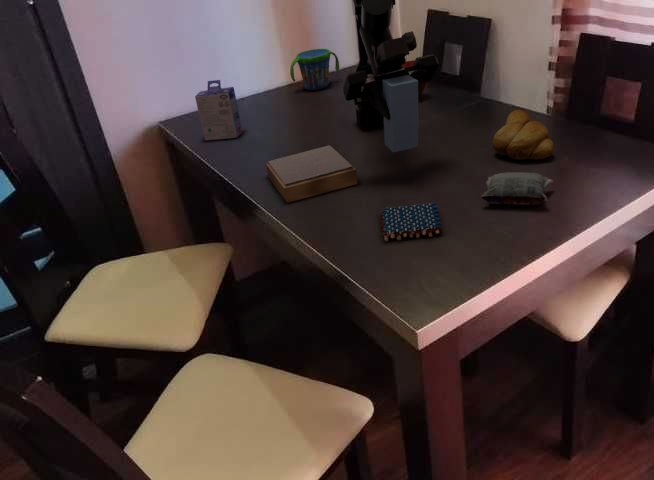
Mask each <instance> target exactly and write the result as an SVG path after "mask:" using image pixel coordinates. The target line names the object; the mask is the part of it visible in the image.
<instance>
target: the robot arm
mask: <svg viewBox="0 0 654 480" xmlns="http://www.w3.org/2000/svg"><path fill="white" fill-rule="evenodd" d="M394 6H396V0H351V9H352V15H353V16H354V25H355V32H356V33H355V34H356V42H357V43H356V44H357V51H358V62H357V64H356V66H355V70H354V72H350V73H347V75H346V77H345V79H344V84H343V88H342V92H343V96H344V99H345V101H346V102H347V101H348V102H349V101H353V103H354V106H357V107H355V114H356V115H355V116H356V125H358V126H359V127H360V128H361V129H363V130H364V131H368V130H372V129H376V128H380V127H384V117H385V118H386V119H387V120H390V118H391V117H390V113H389V109H388V107H387V104H386V102H385V99H384V97H383V89H382V80H386V79H390V78H395V77H400V76H405V75H409V76H411V77H413V78H414V79H416V80H418V104H419V103H420V101H419V99H420V98H419V97H420V96H419V87H420V85H421V83H425V82H426V83H428V82H430V81H432V80H433V78H434V76H435V74H436V72H437V70H438V68H439V66H440V63H439V60H438V57H437V56H436V55H434V54H433V53H431V54H426V55H422V56H418V57H416V58H415V59H414V60H415V62H414V64H413V66H410V67H406V68H403V67H402V64H405V62H406V61H407V59H406V56H409V55H410V54H411V53H410V52H412V51H414V50H416V49H417V47H418V44H417V43H418V42H417V38H416V36H415V34H414V31H408V32H404V33H403V34H401V36H400V37H395V38H394V37H393V35H392V32H391V28H390V26H391V22H392V12H393V11H392V10H393V9H394Z"/></svg>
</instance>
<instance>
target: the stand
mask: <svg viewBox="0 0 654 480" xmlns="http://www.w3.org/2000/svg"><path fill="white" fill-rule="evenodd" d="M265 168H266V173H267V178H268V179H269V181H270V182H271V183H272V184H273V186H274V187H275V189H276V191H277V192H278V194H280V196H281V197H282V198H283V201H285V203H286V204H288V203H293V202H296V201H300V200H304V199H307V198H310V197H314V196H318V195H321V194H326V193H329V192H333V191H336V190H340V189H344V188H348V187H351V186H355V185H358V176H357V168H355V167H354V166H353V164H351V163H350V162H349V161H348V160H347V159H346V158H345V157H344V156H342V154H340V153H339V151H337V150H336V149H335V148H334V147H332V145H325V146H322V147H318V148H314V149H310V150H306V151H303V152H298V153H295V154H291V155H287V156H283V157H279V158H276V159H272V160H268V161H267V163H265Z"/></svg>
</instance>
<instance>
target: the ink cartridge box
mask: <svg viewBox="0 0 654 480" xmlns="http://www.w3.org/2000/svg"><path fill="white" fill-rule="evenodd" d="M213 84H217V85H214V86H211V85H213ZM221 85H222V84H221V79H214V80H207V90H201V91H199V92H198V93H197V94H196V95H195V96H194V99H195V102H196V103H195V104H196V107H197V111H198V116H199V120H200V124H201V129H202V132H203V137H204V141H205V142H206V141H216V140H225V139H236V138H239V136H241V134H242V133H243V132H244V131H243V126H242V121H241V116H240V111H239V107H238V102H237V96H236V91H235V88H234V86H228V87H221Z"/></svg>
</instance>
